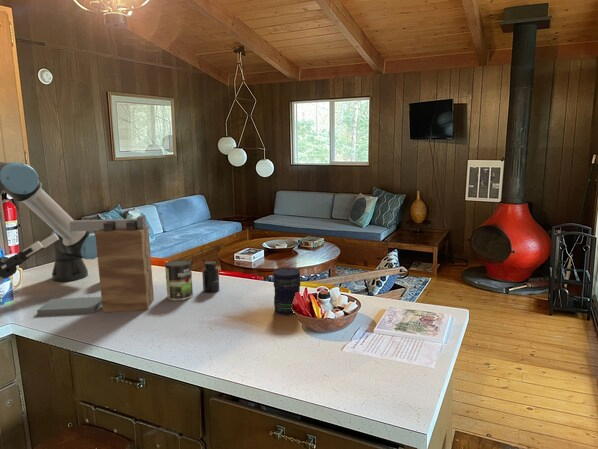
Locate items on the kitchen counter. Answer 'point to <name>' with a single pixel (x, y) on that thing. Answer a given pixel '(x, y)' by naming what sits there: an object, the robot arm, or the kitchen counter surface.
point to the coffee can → (179, 279)
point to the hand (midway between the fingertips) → (49, 240)
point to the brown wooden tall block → (124, 268)
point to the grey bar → (98, 224)
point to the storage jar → (285, 289)
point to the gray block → (70, 306)
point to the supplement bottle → (210, 277)
